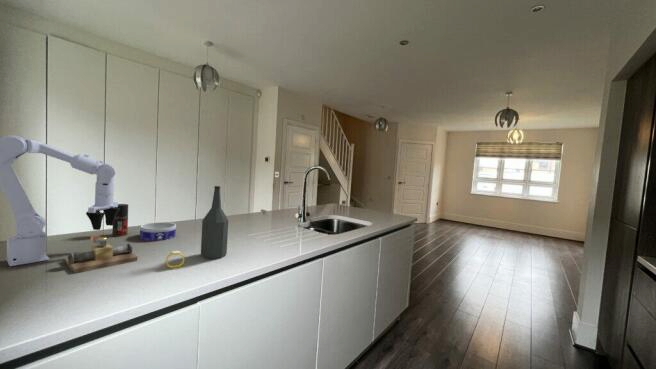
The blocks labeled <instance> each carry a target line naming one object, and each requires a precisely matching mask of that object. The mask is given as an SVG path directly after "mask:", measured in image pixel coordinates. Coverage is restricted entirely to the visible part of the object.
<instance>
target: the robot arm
mask: <svg viewBox="0 0 656 369" xmlns="http://www.w3.org/2000/svg"><path fill="white" fill-rule="evenodd" d="M26 153H27V154H42V155H45V156H48V157H51V158H55V159H58V160H61V161H64V162H67V163H69V165H70V166H71V168H72V169H75V170H78V171H80V172H84V173H86V174H89V175H96V182H95V186H94V187H95V194H94V204H93V205H91V206H89V207H88V209H87V211H85V215H86V216H87V218H88V219H89V221H90V223H91V227H92V230H94V231H100V230H101V228H102V222H103V218H104V217H105V225H106V226H112V227H113V223H114V220H115V217H116V215H117V213H118V212H119V210H120V208H116V207H118V204H119V203H118V202H114V194H115V193H114V191H115V190H114V189H115V183H114V181H115V179H114V177H115V175H116V171H115V169H114V167H113V166H111V165H110V164H108V163H104V161H102V160H96V159H94V158H92V157H90V156H89V155H88V154H86V153H85V154H84V155H83V154H79V153H78V154H76V155H74V154H72V153H69V152H66V151H64V150H62V149H59V148H56V147H54V146H52V145H49V144H47V143H44V142H42V141H37V140H34V139H29V138H26V137H24V136H19V135H18V136H17V135H15V134H13V135H12V134H9V135H5V136H2V137H1V138H0V189H1V191H2V193H3V195H4V197H5V199H6V200H7V203H8V204H9V206H10V208H11V211H12V212H13V216H14V221H15V223H16V228H15V231H16V233H17V234H16V235H15V237H10V238H7V240H6V255H5V260H6V262H7V264H8V266H9V267H13V266H20V265H26V264H32V263H38V262H44V261H49V260H50V257H49V256H48V255H47V232H46V231H44V228H45V226H46V224H47V221H46V219H45V218H44V217H43V216H41V215H40V214H39V212H38V211H37V210H36V208H35V207H34V206H33V204H32V202H31V200H30V199H29V196H28V194H27V193H26V190H25V187H24V186H23V184H22V182H21V181H20V178H19V176H18V174H17V172H16V170H15V169H14V166H13V165H14V163H15V162H16V161H17V160H18V159H19V157H21V156H23V155H24V154H26ZM102 211H103V212H102Z"/></svg>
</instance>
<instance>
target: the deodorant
mask: <svg viewBox="0 0 656 369" xmlns="http://www.w3.org/2000/svg"><path fill="white" fill-rule="evenodd" d="M116 208H120V210H119V212H118V213H117V215H116V217H115V220H114V223H113V225H112V237H117V238H118V237H119V238H121V237H125V236H127V235H128V230H129V229H128V228H129V204H126V203H118V207H116Z"/></svg>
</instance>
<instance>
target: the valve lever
mask: <svg viewBox="0 0 656 369" xmlns="http://www.w3.org/2000/svg"><path fill="white" fill-rule="evenodd" d="M107 241H108V237H107V236H106V237H105V236H101V235H100V234H98V233H93V234H90V242H92V243H94V244H96V246H100V247H101V246H106V244H107Z"/></svg>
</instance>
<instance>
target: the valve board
mask: <svg viewBox="0 0 656 369" xmlns="http://www.w3.org/2000/svg"><path fill="white" fill-rule="evenodd" d="M63 260H64V263H65V264H66V266H68V267H69V269H70V270H71V271H72V272H73V273H74V274H78V273H79V274H80V273H83V272H88V271H93V270H98V269H103V268H107V267H113V266H117V265H123V264H126V263H131V262H132V263H133V262H137V261H138V255H135V254H134V253H133V245H132V243H127V244H126V245H121V246H112V245H110V244H109V243H106V246H101V247H100V246H99V245H93V246H91V250H89V251H84V252H77V253H73V252H69V253H68V255H67V257H64V258H63Z"/></svg>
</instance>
